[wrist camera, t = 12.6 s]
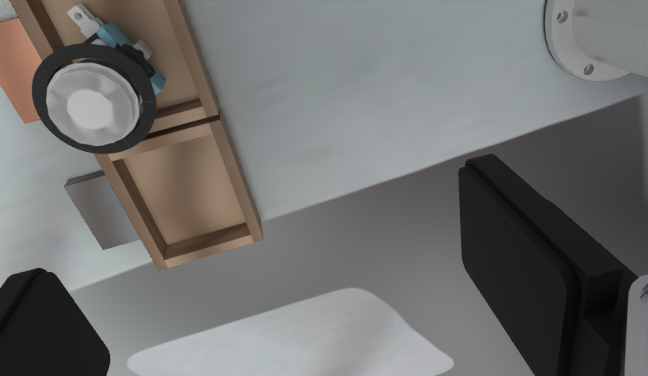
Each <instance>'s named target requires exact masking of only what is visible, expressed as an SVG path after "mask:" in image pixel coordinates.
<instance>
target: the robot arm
mask: <svg viewBox="0 0 648 376" xmlns="http://www.w3.org/2000/svg"><path fill="white" fill-rule="evenodd" d="M545 32H546V39H547V43H548V47H549V50H550V52H551V54H552V56H553V58H554V59H555V61H556V62H557V63H558V64H559V65H560V66H561V68H562V69H563V70H565V71H567V72H568V73H570V74H572V75H574V76H576V77H579V78H581V79H584V80H590V81H609V80H613V79H616V78H620V77H623V76H625V75H628V74H630V73H635V74H638V75H641V76H644V77H647V78H648V0H548V2H547V5H546V15H545ZM458 176H459V199H460V224H461V249H462V260H463V264H464V267H465V269H466V271H467V273H468V274H469V276H470V278H471V279H472V280H473V282H474V284H475V285H476V287H477V288H478V290H479V291H480V293H481V294H482V296H483V297H484V299H485V300H486V302H487V303H488V305H489V306H490V308H491V310H492V311H493V313H494V314H495V316H496V317H497V318H498V320H499V322H500V323H501V324H502V326H503V328H504V329H505V331H506V332H507V334H508V335H509V337H510V338H511V340H512V342H513V343H514V345H515V346H516V348H517V349H518V351H519V352H520V354H521V355H522V357H523V358H524V360H525V361H526V363H527V364H528V366H529V367H530V369H531V370H532V372H533V373H534V375H535V376H648V274H647V275H645V276H642V277H638V276H636V275H635V274H634V273H633V272H632V271H631V270H629V269H628V268H627V267H626V266H625V265H624V264H623V263H621V262H620V261H619V260H618V259H617V258H616V257H614V256H613V255H612V254H611V253H610V252H609V251H607V250H606V249H605V248H604V247H603V246H602V245H601V244H599V243H598V242H597V241H596V240H595V239H594V238H593V237H591V236H590V235H589V234H588V233H587V232H586V231H584V230H583V229H582V228H581V227H580V226H579V225H578V224H576V223H575V222H574V221H573V220H572V219H571V218H569V217H568V216H567V215H566V214H565V213H564V212H563V211H561V210H560V209H559V208H558V207H557V206H556V205H554V204H553V203H552V202H550V201H549V200H546V199H545V198H543V197H542V196H541V195H540V194H539V193H538V192H536V191H535V190H534V189H533V188H532V187H531V186H530V185H529V184H527V183H526V182H525V181H524V180H523V179H522V178H521V177H519V176H518V175H517V174H516V173H515V172H514V171H513V170H511V169H510V168H509V167H508V166H507V165H506V164H504V163H503V162H502V161H501V160H500V159H499V158H498V157H497V156H495V155H494V154H488V155H484V156H480V157H476V158H472V159H468V160H467V161H466V163H465V167H462V168H460V169H459V174H458ZM109 365H110V353H109V350H108V348H107V347H106V345H105V344H104V342H103V341H102V340H101V339H100V337H99V336H98V334H97V333H96V331H95V330H94V328H93V327H92V325H91V324H90V323H89V321H88V320H87V318H86V317H85V315H84V314H83V313H82V311H81V310H80V309H79V307H78V306H77V304H76V303H75V301H74V300H73V298H72V297H71V296H70V294H69V293H68V291H67V290H66V288H65V287H64V286H63V284H62V283H61V281H60V280H59V278H58V277H57V276H56V275H55V274H54V273H52V272H47V271H46V270H44V269H42V268H36V269H32V270H29V271H25V272H21V273H17V274H13V275H11V276H9V277H8V278H7V280H6V281H5V282H4V284H3V285H2V287H1V288H0V376H106V375H107V372H108V369H109Z"/></svg>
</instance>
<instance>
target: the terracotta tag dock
mask: <svg viewBox="0 0 648 376" xmlns="http://www.w3.org/2000/svg"><path fill="white" fill-rule="evenodd" d="M9 1H10V3H11V4H12V6H13V8H14V10H15V12H16V13H17V15H18V17H17V18H13V19H9V20H5V21H1V22H0V85H1V86H2V88H3V90H4V91H5V93H6V94H7V96H8V98H9V99H10V101H11V103H12V104H13V106H14V107H15V109H16V111H17V112H18V114H19V115H20V117H21V119H22V120H23V122H24V123H29V122H33V121H37V120H40V117H39V116H38V114H37V112H36V109H35V106H34V103H33V99H32V81H33V77H34V74H35V72H36V70H37V68H38V66H39V65H40V64H41V62H42V61H43V60H44V59H45V58H46V57H47V56H49V55H50V54H52V53H53V52H55V51H56V50H58V49H60V48H63V47H65V46H69V45H73V44H80V43H83V42H84V41H86V40H87V38H86V37H85V36H84V35H83V34H82V33H81V31H80V30H81V28H80V27H79V26H78V25H77V24H76V23H75V22H74V21H73V20H72V19H71V18H70V16H69V15H68V14H67V12H68V11H69V10H70V9H72V8H73V7H74V6H75V5H76V6H77V5H79V4H83V5H84V6H85V7H86V8H87V10H88V11H89V12H90V13H91V14H92V15H93V16H94V17H95V18H97V17H98V18H99V19H100V20H101V21H102V22H103V23H104V24H105V25H106V24H107V23H109V22H110V21H112V22H114V23H115V24H116V25H117V26H118V28H119V29H120V30H121V31H122V32H123V33H124V34H125V35H126V36H127V38H128V39H129V40H130V41H131V42H132V43H133V44H134V45H135V44H136V43H137V42H138V40H139V39H141V40H143V41H144V42H145V44H146V45H147V46H148V47H149V48H150V49H151V50H152V52H153V54H152V55H151V57H150V58H149V59H148V61H149V62H150V63H151V64H152V65H153V66H154V67H155V68H156V70H157V71H158V72H160V73H161V74H162V75H163V77H164V78H165V80H166V82H165V84H164V87H163V89H162V91H160V92H159V93H158V94H156V95H155V96H156V104H157V109H156V116H155V120H154V123H153V126H152V128H151V130H150V131H149V133H152V132H156V131H159V130H163V129H167V128H170V127H174V126H178V125H181V124H185V123H189V122H192V121H196V120H200V119H203V118H207V117H211V116H214V115H218V108H219V102H218V99H217V96H216V93H215V91H214V88H213V85H212V82H211V79H210V76H209V74H208V71H207V68H206V65H205V62H204V59H203V57H202V54H201V51H200V48H199V45H198V42H197V40H196V37H195V34H194V31H193V28H192V25H191V23H190V20H189V17H188V14H187V11H186V8H185V6H184V3H183V0H9ZM83 12H84V13H85V14H86V12H85V11H83ZM79 15H80V16H81V17H82V15H81V14H80V13H79ZM75 18H76V19H78V18H77V17H76V16H75ZM78 20H79V19H78ZM143 46H144V45H143ZM144 47H145V46H144ZM145 48H146V47H145ZM146 49H147V48H146ZM79 60H80V59H75V60H71V61H69V62H66V63H65V64H64V65H63V66H62V68H61V69H63V68H65V67H67V66H69V65H71V64H74V63H77V62H78V61H79ZM61 69H60V70H61ZM142 114H143V105H142V106H141V107H140V108H139V117H138V120H137V122H138V121H139V120H140V119H141V117H142Z"/></svg>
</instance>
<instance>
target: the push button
mask: <svg viewBox="0 0 648 376" xmlns="http://www.w3.org/2000/svg"><path fill="white" fill-rule="evenodd" d="M83 11H85V12H86V14H85V13H84V12H83ZM79 13H80V14H81V15H82V17H81V16H80V15H79ZM67 14H68V15H69V16H70V18H71V19H72V20H73V21H74V22H75V23H76V24H77V25H78V26H79V27H80V28H81V30H80V31H81V33H82V34H83V35H84V36H85V37H86V38H87V40H86V41H84V42H83V43H80V44H73V45H69V46H65V47H63V48H60V49H58V50H56V51H55V52H53V53H52V54H50V55H49V56H47V57H46V58H45V59H44V60H43V61H42V62H41V64H40V65H39V66H38V68H37V70H36V72H35V74H34V77H33V81H32V99H33V103H34V106H35V109H36V112H37V114H38V116H39V117H40V119H41V121H42V122H43V123H44V125H45V126H46V127H47V128H48V129H49V130H50V131H51V132H52V133H53V134H54V135H55V136H56V137H57V138H59V139H60V140H62V141H63V142H65V143H66V144H68V145H70V146H72V147H74V148H77V149H79V150H82V151H86V152H90V153H96V154H112V153H118V152H122V151H125V150H128V149H130V148H132V147H134V146H136V145H137V144H138V143H140V142H141V141H142V140H143V139H144V138H145V137H146V136H147V134H148V133H149V131H150V130H151V128H152V126H153V123H154V120H155V116H156V109H157V104H156V96H155V95H156V94H158V93H159V92H160V91H162V89H163V87H164V84H165V82H166V80H165V78H164V77H163V75H162V74H161V73H160V72H158V71H157V70H156V68H155V67H154V66H153V65H152V64H151V63H150V62H149V61H148V59H149V58H150V57H151V55H152V54H153V52H152V50H151V49H150V48H149V47H148V46H147V45H146V44H145V42H144V41H143V40H141V39H139V40H138V42H137V43H136V44H135V45H134V44H133V43H132V42H131V41H130V40H129V39H128V38H127V36H126V35H125V34H124V33H123V32H122V31H121V30H120V29H119V28H118V26H117V25H116V24H115V23H114V22H112V21H110V22H109V23H107V24H106V25H105V24H104V23H103V22H102V21H101V20H100V19H99V18H98V17H97V18H95V17H94V16H93V15H92V14H91V13H90V12H89V11H88V10H87V8H86V7H85V6H84V5H83V4H79V5H77V6H76V5H75V6H74V7H73V8H72V9H70V10H69V11H68V12H67ZM75 16H76V17H77V18H78V19H79V20H78V19H76V18H75ZM143 45H144V46H145V47H146V48H147V49H146V48H145V47H144V46H143ZM75 59H80V60H79V61H78V62H77V63H74V64H71V65H69V66H67V67H65V68H63V69H61V68H62V66H63V65H64V64H65V63H66V62H69V61H71V60H75ZM60 69H61V70H60ZM142 105H143V114H142V117H141V119H140V120H139V121H138V122H137V120H138V117H139V108H140V107H141V106H142Z"/></svg>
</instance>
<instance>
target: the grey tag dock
mask: <svg viewBox="0 0 648 376" xmlns="http://www.w3.org/2000/svg"><path fill="white" fill-rule="evenodd" d="M94 155H95V157H96V159H97V160H98V162H99V164H100V166H101V168H102V169H103V171H100V172H97V173H93V174H89V175H86V176H82V177H78V178H75V179H71V180H68V181H67V183H66V184H65V186H64V188H65V190H66V191H67V193H68V194H69V196H70V198H71V199H72V201H73V202H74V204H75V206H76V207H77V209H78V210H79V212H80V214H81V215H82V217H83V218H84V220H85V222H86V223H87V225H88V227H89V228H90V230H91V231H92V233H93V235H94V236H95V238H96V239H97V241H98V243H99V244H100V246H101V247H102V249H103V250H105V249H108V248H112V247H115V246H119V245H122V244H126V243H129V242H133V241H136V240H139V239H141V240H142V242H143V244H144V246H145V248H146V249H147V251H148V253H149V255H150V257H151V258H152V260H153V262H154V264H155V266H156V267H157V269H158V271H159V270H163V269H166V268H170V267H173V266H176V265H180V264H183V263H186V262H190V261H193V260H197V259H200V258H203V257H207V256H210V255H213V254H217V253H220V252H224V251H227V250H231V249H234V248H237V247H240V246H244V245H247V244H251V243H254V242H258V241H261V240H263V233H262V226H261V221H260V218H259V215H258V212H257V209H256V207H255V204H254V201H253V198H252V195H251V192H250V190H249V187H248V184H247V181H246V178H245V175H244V173H243V170H242V167H241V164H240V161H239V158H238V156H237V153H236V150H235V147H234V144H233V141H232V139H231V136H230V133H229V130H228V127H227V124H226V122H225V119H224V116H223V113H222V110H221V108H218V115H214V116H211V117H207V118H203V119H200V120H196V121H192V122H189V123H185V124H181V125H178V126H174V127H170V128H167V129H163V130H159V131H156V132H152V133H148V134H147V136H146V137H145V138H144V139H143V140H142V141H141V142H140V143H138V144H137V145H136V146H134V147H132V148H130V149H128V150H125V151H122V152H118V153H112V154H96V153H95V154H94Z"/></svg>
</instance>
